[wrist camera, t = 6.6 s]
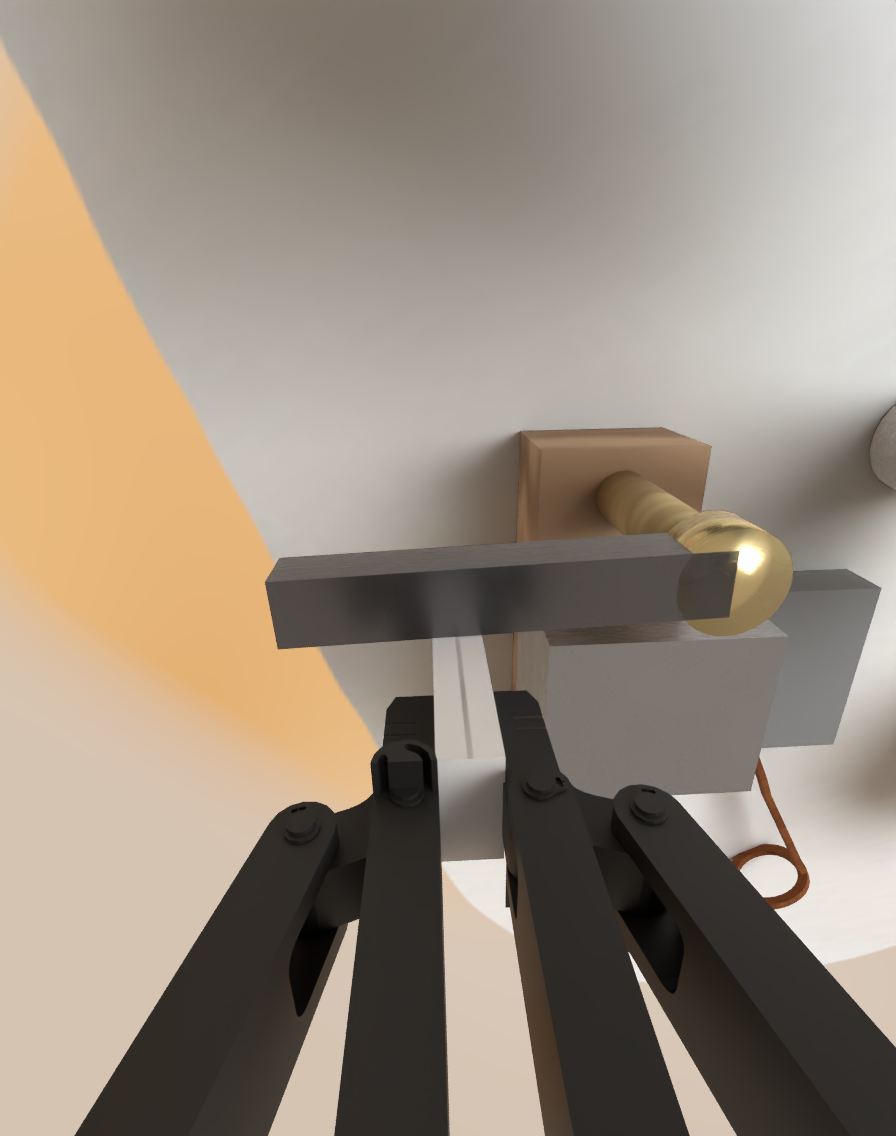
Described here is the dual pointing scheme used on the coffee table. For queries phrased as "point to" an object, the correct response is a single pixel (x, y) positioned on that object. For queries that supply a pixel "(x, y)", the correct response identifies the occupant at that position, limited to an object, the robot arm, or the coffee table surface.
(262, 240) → the coffee table surface
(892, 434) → the house plant
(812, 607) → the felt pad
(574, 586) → the lever
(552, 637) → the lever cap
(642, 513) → the body
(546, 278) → the coffee table surface
